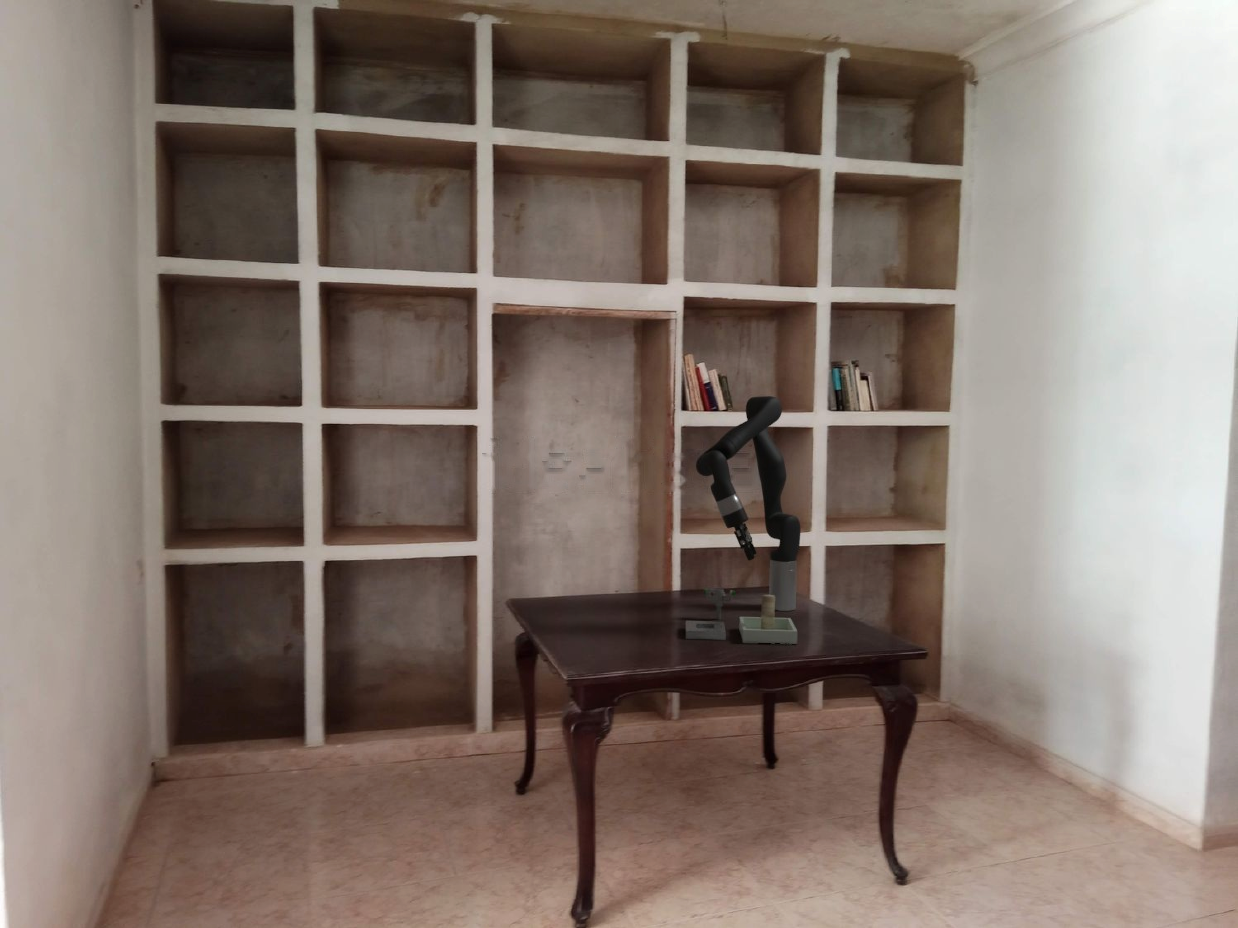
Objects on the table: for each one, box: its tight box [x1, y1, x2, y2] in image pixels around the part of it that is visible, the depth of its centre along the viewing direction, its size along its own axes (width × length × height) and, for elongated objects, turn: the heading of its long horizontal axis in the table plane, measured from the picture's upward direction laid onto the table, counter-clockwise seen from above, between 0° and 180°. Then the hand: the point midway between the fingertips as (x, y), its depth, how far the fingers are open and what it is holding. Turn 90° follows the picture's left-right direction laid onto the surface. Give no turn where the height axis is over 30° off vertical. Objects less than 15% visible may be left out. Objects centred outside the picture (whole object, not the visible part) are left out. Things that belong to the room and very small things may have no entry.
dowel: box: [760, 594, 776, 630], centre depth 261 cm, size 4×4×12 cm
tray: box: [738, 616, 798, 645], centre depth 261 cm, size 16×16×4 cm
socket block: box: [685, 620, 727, 641], centre depth 264 cm, size 12×12×2 cm
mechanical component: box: [702, 587, 736, 620], centre depth 282 cm, size 3×10×10 cm, turn 79°
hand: (752, 557), depth 271 cm, fingers open, 8 cm apart
